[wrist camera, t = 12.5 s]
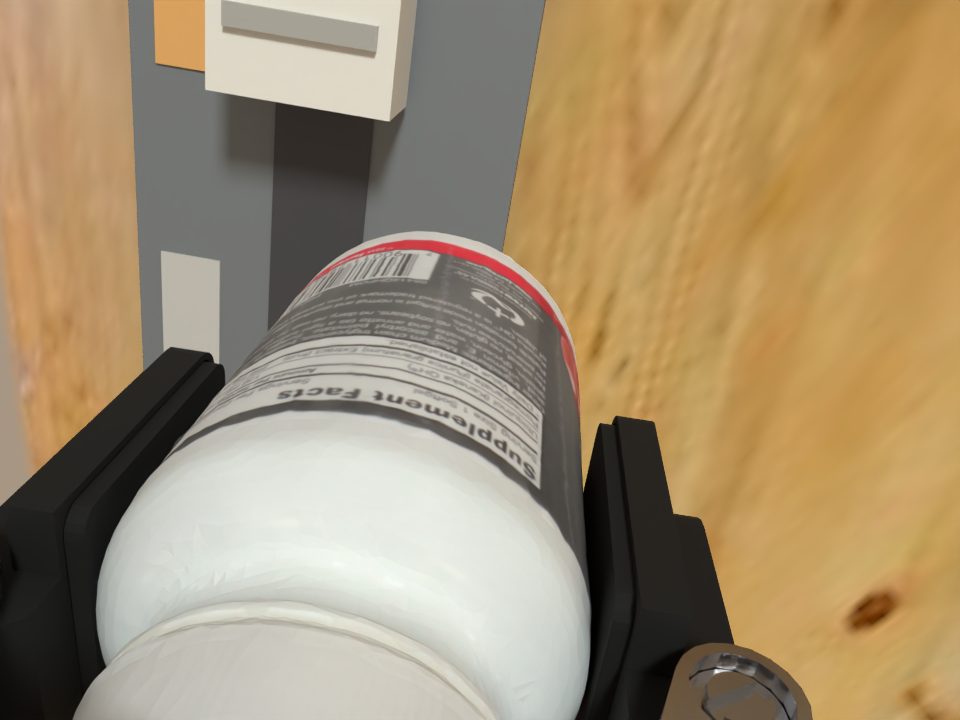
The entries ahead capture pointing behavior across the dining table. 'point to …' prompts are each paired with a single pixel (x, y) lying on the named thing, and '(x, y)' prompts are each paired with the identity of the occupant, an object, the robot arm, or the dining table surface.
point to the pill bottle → (367, 512)
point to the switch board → (311, 168)
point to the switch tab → (313, 53)
